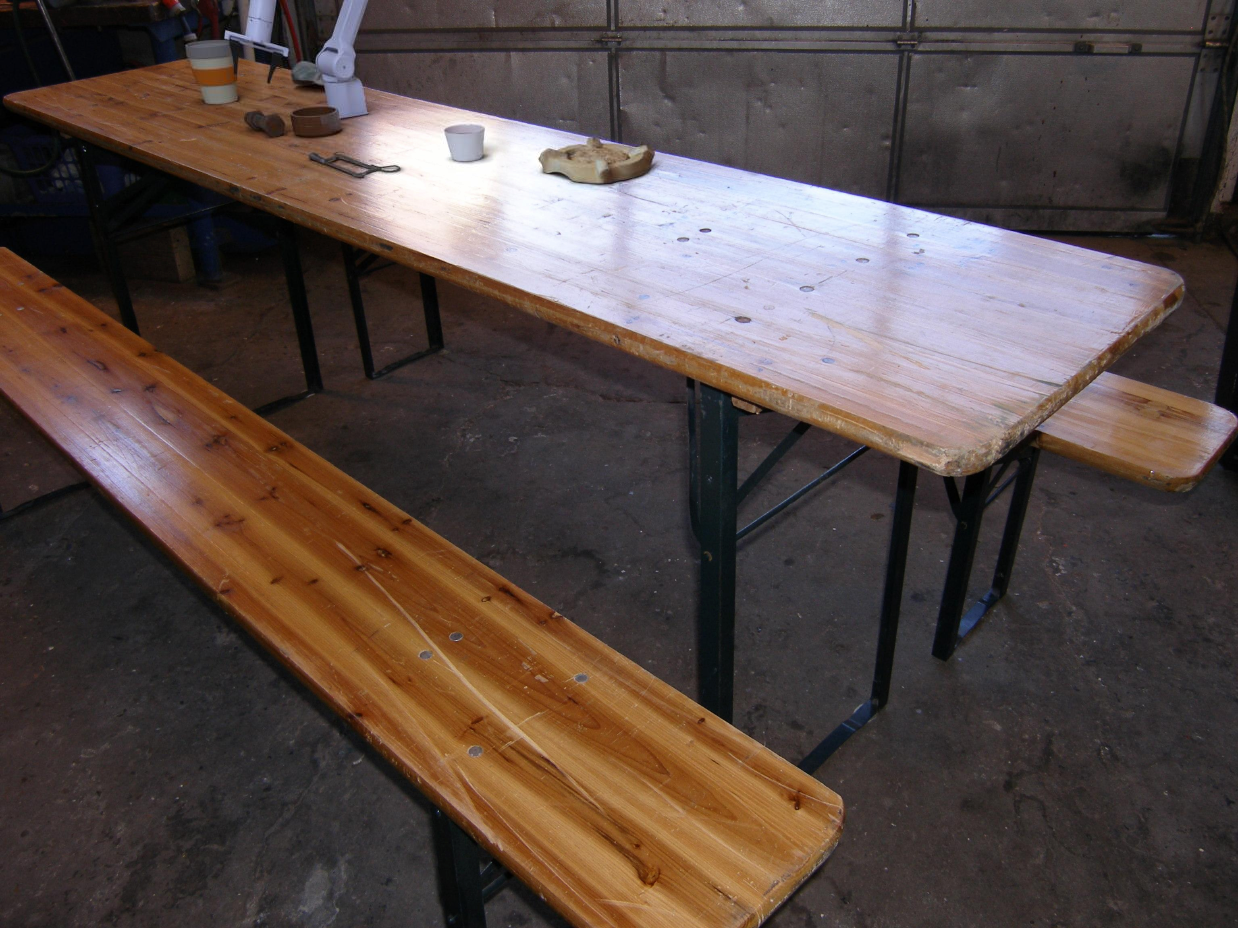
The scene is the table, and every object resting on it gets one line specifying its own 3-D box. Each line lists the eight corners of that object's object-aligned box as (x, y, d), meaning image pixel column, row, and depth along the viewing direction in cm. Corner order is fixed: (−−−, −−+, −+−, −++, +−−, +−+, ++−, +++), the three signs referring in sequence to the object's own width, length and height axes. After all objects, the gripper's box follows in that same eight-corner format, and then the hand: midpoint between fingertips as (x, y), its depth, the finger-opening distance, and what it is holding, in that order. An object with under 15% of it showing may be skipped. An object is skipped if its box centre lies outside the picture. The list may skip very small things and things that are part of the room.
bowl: (330, 124, 248) (326, 104, 245) (349, 132, 240) (345, 112, 237) (286, 131, 242) (282, 111, 240) (304, 140, 234) (300, 119, 232)
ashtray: (571, 192, 195) (570, 167, 192) (526, 164, 213) (524, 141, 210) (673, 174, 204) (673, 150, 201) (621, 149, 222) (620, 127, 219)
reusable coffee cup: (253, 98, 276) (241, 42, 268) (217, 107, 267) (204, 49, 259) (225, 94, 282) (212, 38, 274) (188, 102, 273) (174, 45, 265)
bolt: (255, 133, 249) (281, 141, 239) (236, 126, 245) (262, 134, 235) (261, 110, 248) (287, 118, 238) (243, 103, 244) (268, 110, 234)
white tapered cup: (471, 150, 224) (468, 122, 220) (495, 157, 218) (492, 128, 215) (439, 158, 218) (435, 129, 215) (463, 165, 213) (460, 136, 210)
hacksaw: (306, 159, 220) (305, 153, 219) (346, 150, 226) (345, 144, 225) (363, 180, 205) (361, 173, 204) (404, 170, 211) (403, 163, 210)
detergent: (285, 87, 287) (333, 97, 272) (282, 62, 284) (330, 69, 269) (324, 84, 296) (372, 93, 281) (321, 59, 292) (369, 66, 278)
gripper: (227, 10, 227) (219, 70, 230) (291, 29, 232) (282, 87, 236) (228, 12, 233) (220, 70, 237) (291, 30, 238) (282, 87, 242)
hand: (251, 79), depth 237 cm, fingers open, 7 cm apart
